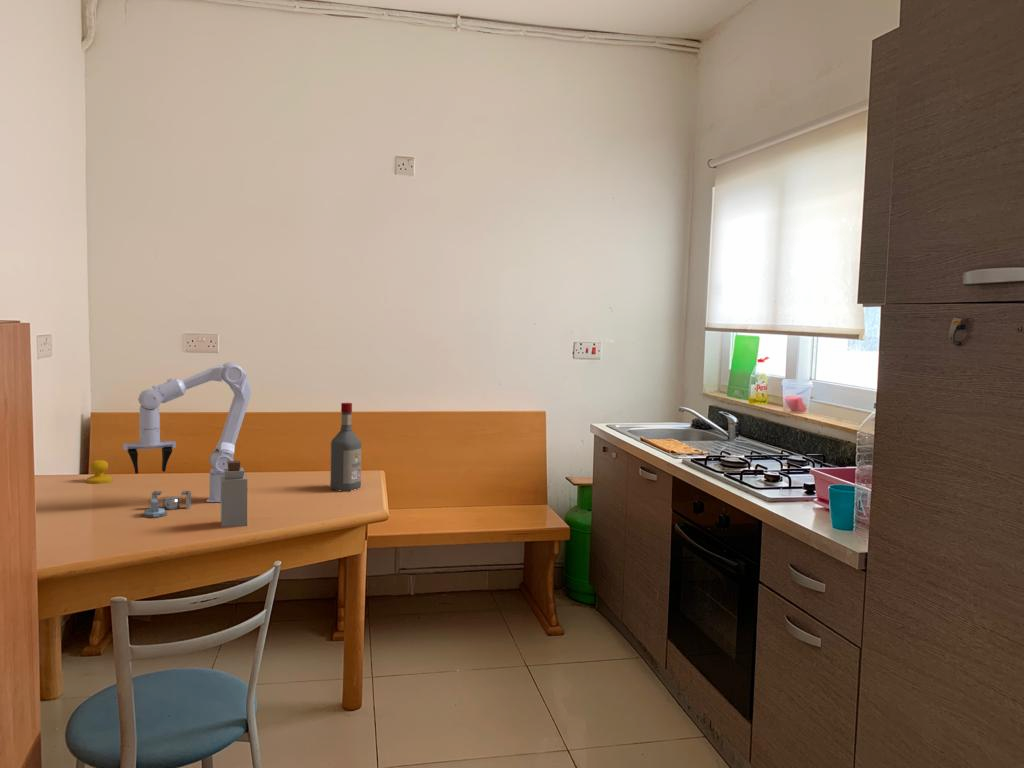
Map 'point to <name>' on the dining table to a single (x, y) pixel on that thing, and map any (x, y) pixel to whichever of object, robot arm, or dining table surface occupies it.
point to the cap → (154, 509)
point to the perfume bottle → (233, 496)
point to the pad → (154, 517)
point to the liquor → (345, 455)
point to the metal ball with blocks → (173, 500)
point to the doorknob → (99, 472)
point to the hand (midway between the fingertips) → (150, 472)
